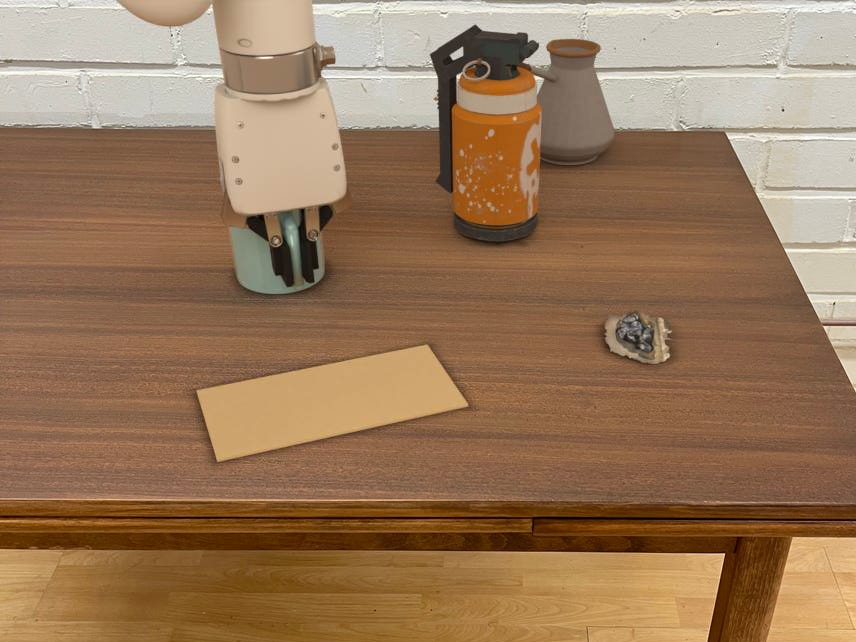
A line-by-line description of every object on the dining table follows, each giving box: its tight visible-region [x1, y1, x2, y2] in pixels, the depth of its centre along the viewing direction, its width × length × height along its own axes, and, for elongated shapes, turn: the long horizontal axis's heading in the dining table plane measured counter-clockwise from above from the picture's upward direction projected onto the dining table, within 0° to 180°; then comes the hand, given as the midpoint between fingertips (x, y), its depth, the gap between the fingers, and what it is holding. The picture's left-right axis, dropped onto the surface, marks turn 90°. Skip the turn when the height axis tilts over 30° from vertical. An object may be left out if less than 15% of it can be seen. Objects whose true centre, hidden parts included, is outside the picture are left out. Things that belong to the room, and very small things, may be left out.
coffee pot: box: [471, 38, 616, 166], centre depth 113 cm, size 21×12×15 cm, turn 130°
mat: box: [196, 344, 469, 463], centre depth 77 cm, size 20×10×1 cm, turn 112°
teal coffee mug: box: [219, 176, 326, 295], centre depth 90 cm, size 12×9×10 cm
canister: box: [429, 24, 542, 243], centre depth 97 cm, size 9×11×20 cm
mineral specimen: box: [603, 310, 673, 365], centre depth 84 cm, size 7×8×2 cm
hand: (296, 277), depth 87 cm, fingers closed on teal coffee mug, 1 cm apart
